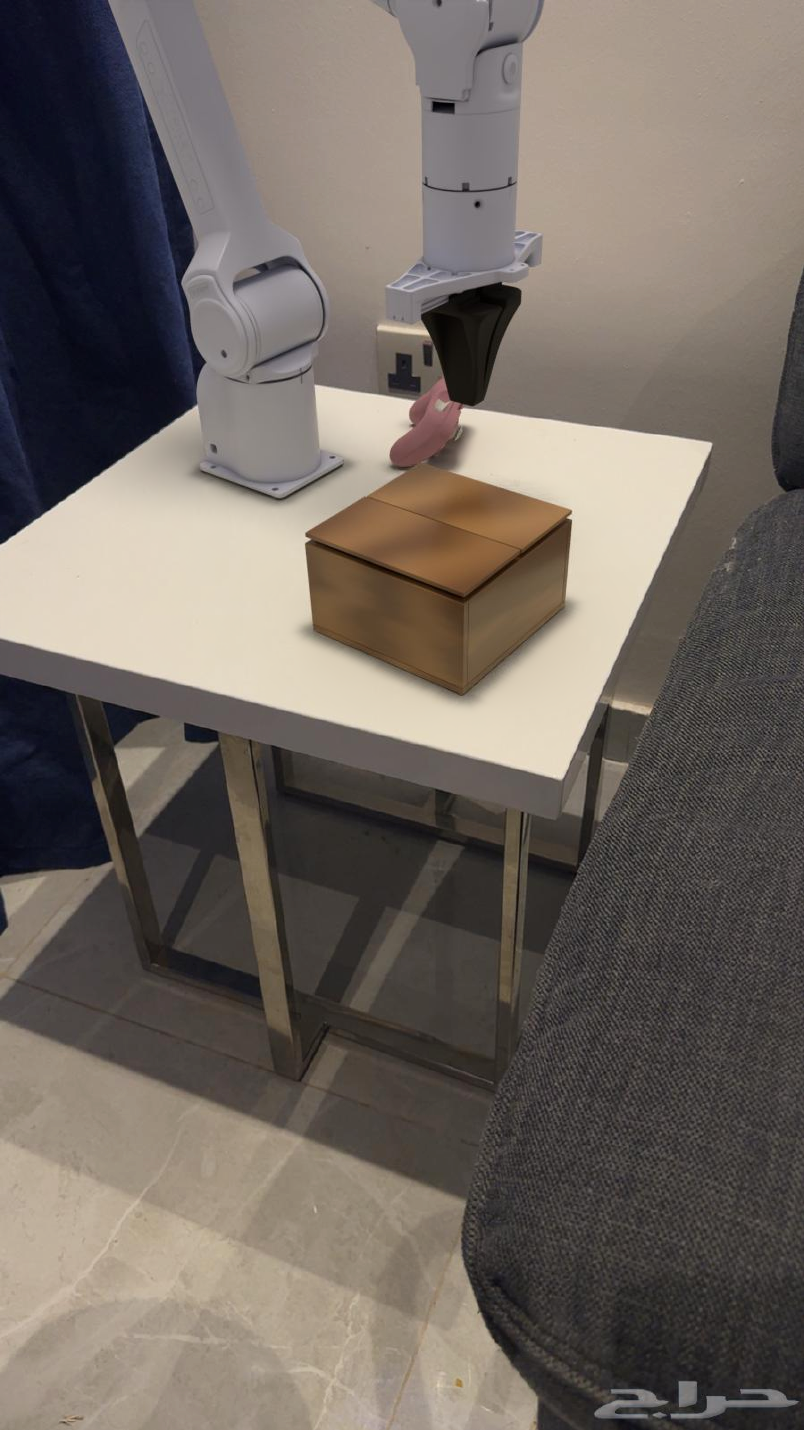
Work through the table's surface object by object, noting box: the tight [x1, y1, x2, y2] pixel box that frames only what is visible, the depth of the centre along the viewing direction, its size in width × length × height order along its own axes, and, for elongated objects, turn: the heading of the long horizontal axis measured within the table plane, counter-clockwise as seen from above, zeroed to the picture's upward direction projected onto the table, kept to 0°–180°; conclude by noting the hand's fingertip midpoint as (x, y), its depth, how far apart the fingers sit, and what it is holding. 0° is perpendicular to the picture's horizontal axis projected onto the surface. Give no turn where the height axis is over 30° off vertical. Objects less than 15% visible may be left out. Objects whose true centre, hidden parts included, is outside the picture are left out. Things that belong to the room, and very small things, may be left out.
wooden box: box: [304, 495, 573, 696], centre depth 66 cm, size 12×12×7 cm
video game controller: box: [389, 376, 465, 468], centre depth 87 cm, size 10×5×7 cm, turn 168°
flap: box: [366, 462, 573, 553], centre depth 66 cm, size 12×6×1 cm, turn 52°
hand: (466, 400), depth 70 cm, fingers closed
